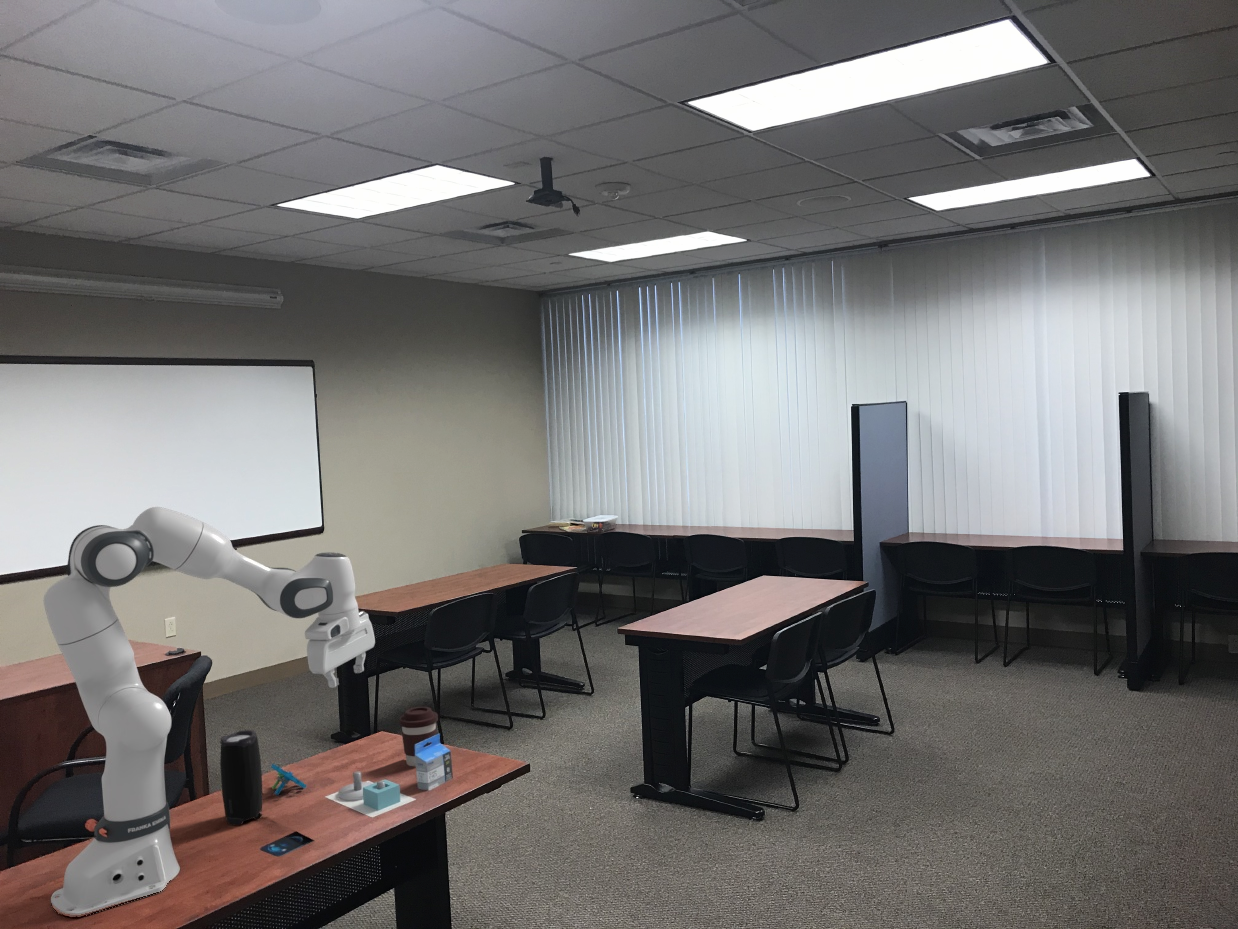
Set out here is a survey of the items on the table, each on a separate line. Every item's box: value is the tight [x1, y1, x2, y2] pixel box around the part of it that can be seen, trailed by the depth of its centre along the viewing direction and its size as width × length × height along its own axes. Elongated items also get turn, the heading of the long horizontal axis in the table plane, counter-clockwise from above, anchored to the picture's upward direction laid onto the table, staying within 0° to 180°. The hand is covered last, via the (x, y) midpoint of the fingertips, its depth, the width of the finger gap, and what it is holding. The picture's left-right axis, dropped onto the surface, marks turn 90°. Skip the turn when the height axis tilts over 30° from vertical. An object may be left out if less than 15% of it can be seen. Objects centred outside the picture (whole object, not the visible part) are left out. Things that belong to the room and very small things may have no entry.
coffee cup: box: [398, 706, 439, 767], centre depth 239 cm, size 10×10×15 cm
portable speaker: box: [219, 729, 263, 826], centre depth 211 cm, size 9×9×20 cm
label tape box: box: [415, 733, 454, 792], centre depth 223 cm, size 9×4×12 cm, turn 148°
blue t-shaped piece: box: [271, 763, 308, 796], centre depth 226 cm, size 11×6×10 cm
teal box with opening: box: [363, 779, 401, 811], centre depth 213 cm, size 6×6×4 cm
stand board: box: [325, 770, 417, 818], centre depth 216 cm, size 12×20×6 cm, turn 48°
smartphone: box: [259, 831, 315, 857], centre depth 199 cm, size 8×1×15 cm
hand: (346, 679), depth 211 cm, fingers open, 8 cm apart
